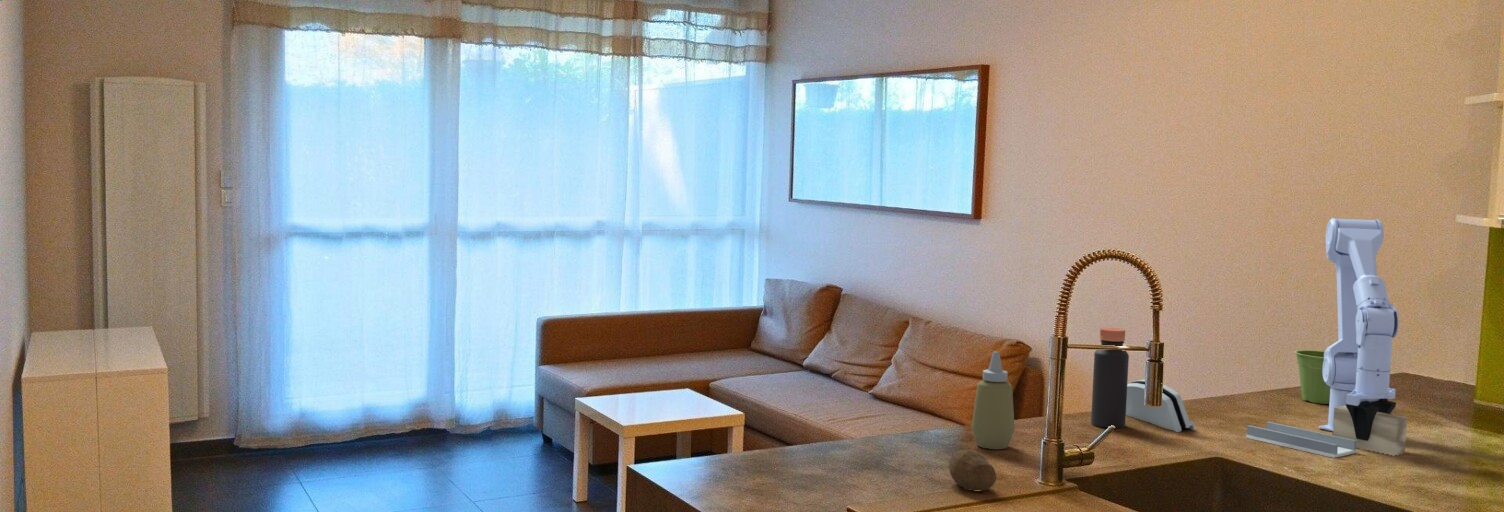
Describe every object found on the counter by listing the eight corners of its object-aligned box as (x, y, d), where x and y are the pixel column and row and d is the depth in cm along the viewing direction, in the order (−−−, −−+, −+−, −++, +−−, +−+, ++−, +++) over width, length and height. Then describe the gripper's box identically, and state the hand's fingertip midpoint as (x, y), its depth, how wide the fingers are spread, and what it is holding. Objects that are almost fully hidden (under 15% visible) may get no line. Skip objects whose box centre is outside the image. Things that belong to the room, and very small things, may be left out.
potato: (970, 498, 184) (972, 459, 184) (936, 482, 193) (937, 445, 193) (1004, 494, 187) (1006, 456, 187) (968, 478, 196) (970, 442, 196)
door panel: (1342, 440, 231) (1345, 405, 231) (1404, 453, 221) (1407, 417, 221) (1332, 442, 229) (1334, 407, 228) (1394, 456, 219) (1396, 419, 219)
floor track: (1268, 433, 236) (1269, 421, 236) (1356, 452, 221) (1357, 440, 221) (1245, 437, 231) (1246, 425, 231) (1334, 457, 216) (1334, 445, 216)
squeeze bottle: (1018, 444, 221) (1022, 351, 219) (1008, 453, 213) (1013, 357, 212) (976, 439, 224) (980, 347, 222) (965, 448, 217) (969, 353, 215)
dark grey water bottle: (1089, 426, 237) (1094, 330, 236) (1092, 420, 244) (1097, 326, 242) (1123, 430, 235) (1128, 332, 233) (1126, 423, 241) (1131, 328, 240)
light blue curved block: (1197, 430, 236) (1186, 386, 234) (1179, 439, 235) (1167, 394, 233) (1143, 413, 252) (1133, 371, 250) (1126, 421, 251) (1115, 379, 249)
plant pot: (1357, 407, 264) (1360, 358, 263) (1305, 406, 264) (1308, 357, 263) (1332, 397, 276) (1335, 350, 275) (1282, 395, 276) (1285, 348, 275)
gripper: (1374, 375, 217) (1369, 447, 218) (1413, 369, 225) (1408, 438, 226) (1337, 369, 222) (1333, 439, 223) (1376, 363, 231) (1372, 430, 232)
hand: (1368, 438), depth 225 cm, fingers closed on door panel, 4 cm apart
